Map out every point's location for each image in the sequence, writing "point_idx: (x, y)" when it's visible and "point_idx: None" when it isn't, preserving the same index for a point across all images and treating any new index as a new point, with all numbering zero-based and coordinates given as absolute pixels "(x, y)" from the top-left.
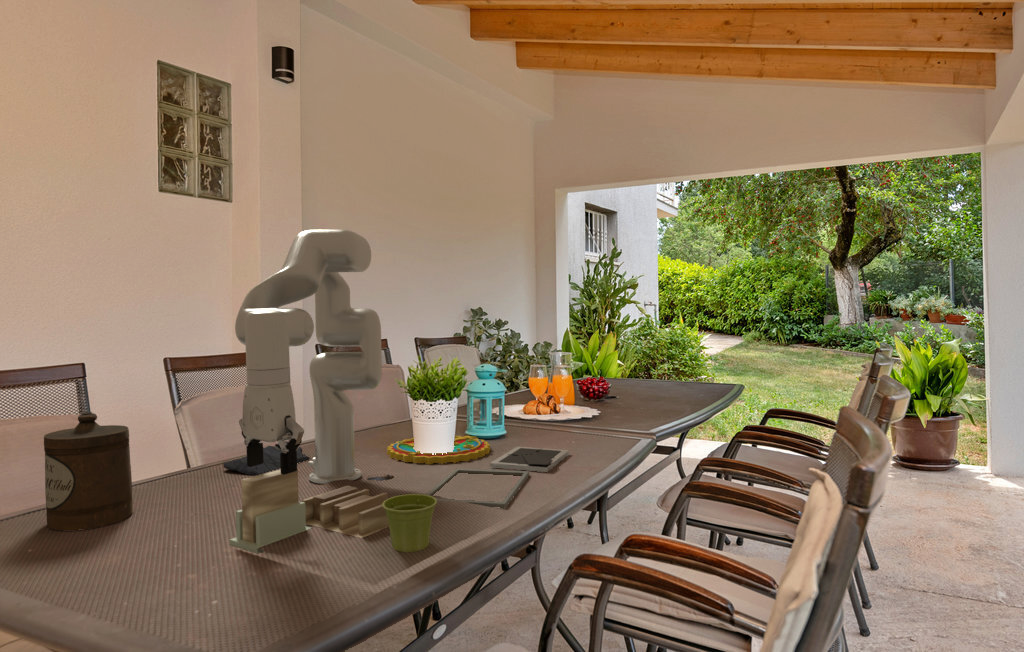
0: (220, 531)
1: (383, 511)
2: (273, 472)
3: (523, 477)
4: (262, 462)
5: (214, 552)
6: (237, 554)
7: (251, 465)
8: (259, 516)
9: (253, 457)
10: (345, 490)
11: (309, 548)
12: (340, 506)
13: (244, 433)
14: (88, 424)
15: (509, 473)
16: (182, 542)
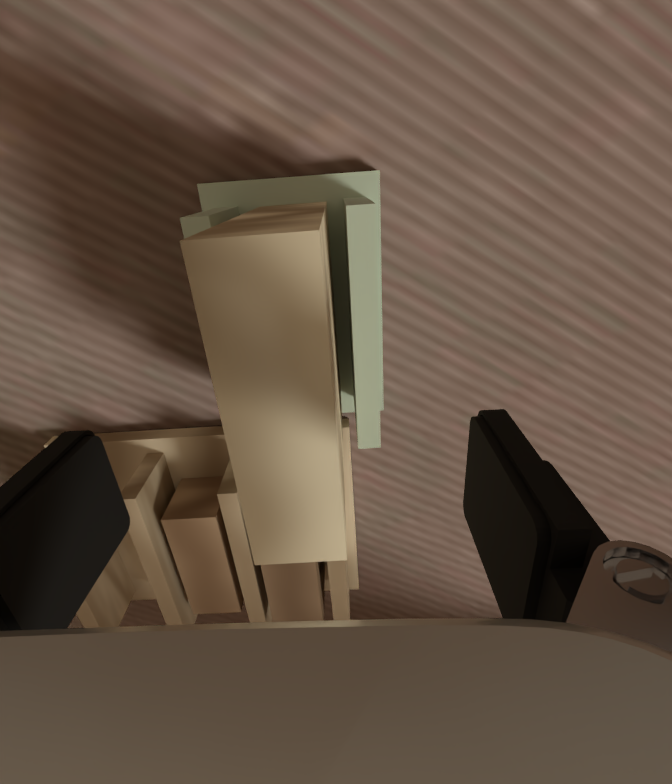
0: (545, 238)
1: None
2: (314, 469)
3: None
4: (465, 507)
5: (355, 76)
6: (257, 128)
7: (473, 427)
8: (192, 227)
9: (489, 483)
10: (283, 602)
11: (122, 326)
12: (184, 521)
13: (652, 687)
14: None
15: None
16: (590, 52)
